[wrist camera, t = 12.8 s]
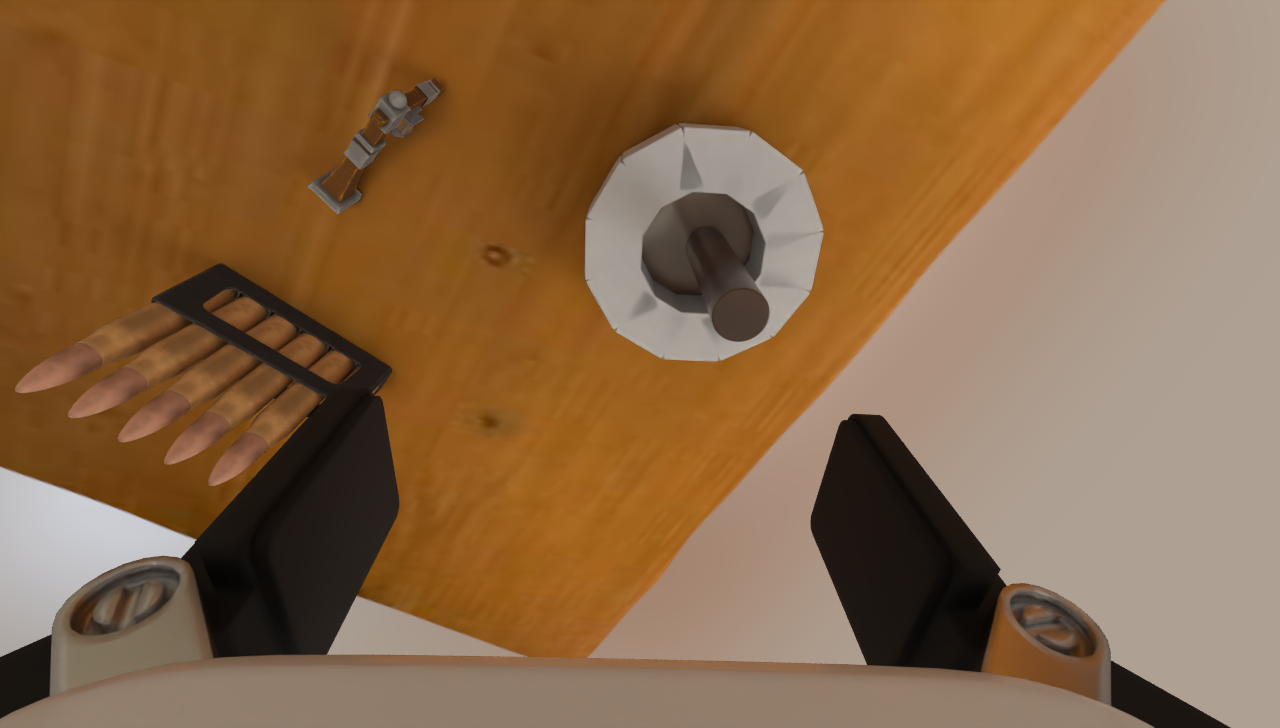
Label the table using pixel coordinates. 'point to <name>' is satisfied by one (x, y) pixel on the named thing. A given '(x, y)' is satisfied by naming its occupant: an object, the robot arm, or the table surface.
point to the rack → (708, 260)
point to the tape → (667, 175)
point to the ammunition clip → (213, 367)
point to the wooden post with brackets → (374, 142)
